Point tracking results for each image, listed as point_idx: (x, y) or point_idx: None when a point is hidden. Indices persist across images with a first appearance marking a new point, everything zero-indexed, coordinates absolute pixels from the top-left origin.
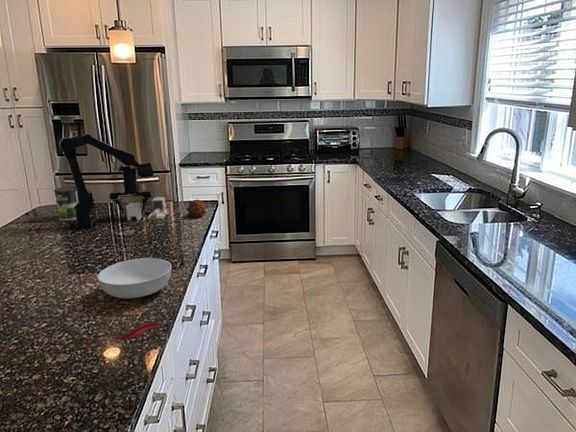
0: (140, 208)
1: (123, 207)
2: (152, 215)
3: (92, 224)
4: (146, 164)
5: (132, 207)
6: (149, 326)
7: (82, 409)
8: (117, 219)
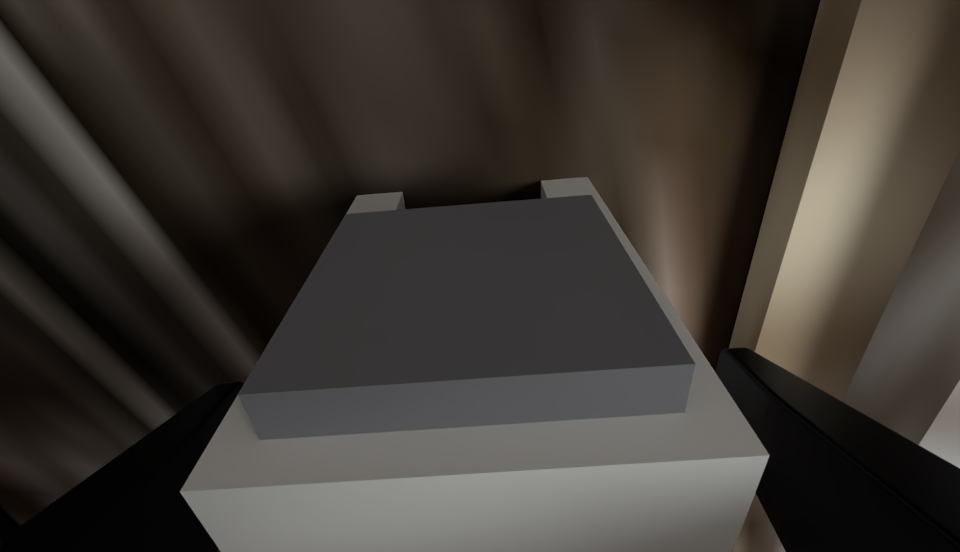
0: (653, 279)
1: (157, 509)
2: (856, 268)
3: (8, 532)
4: None
5: None
6: None
7: None
8: (160, 305)
